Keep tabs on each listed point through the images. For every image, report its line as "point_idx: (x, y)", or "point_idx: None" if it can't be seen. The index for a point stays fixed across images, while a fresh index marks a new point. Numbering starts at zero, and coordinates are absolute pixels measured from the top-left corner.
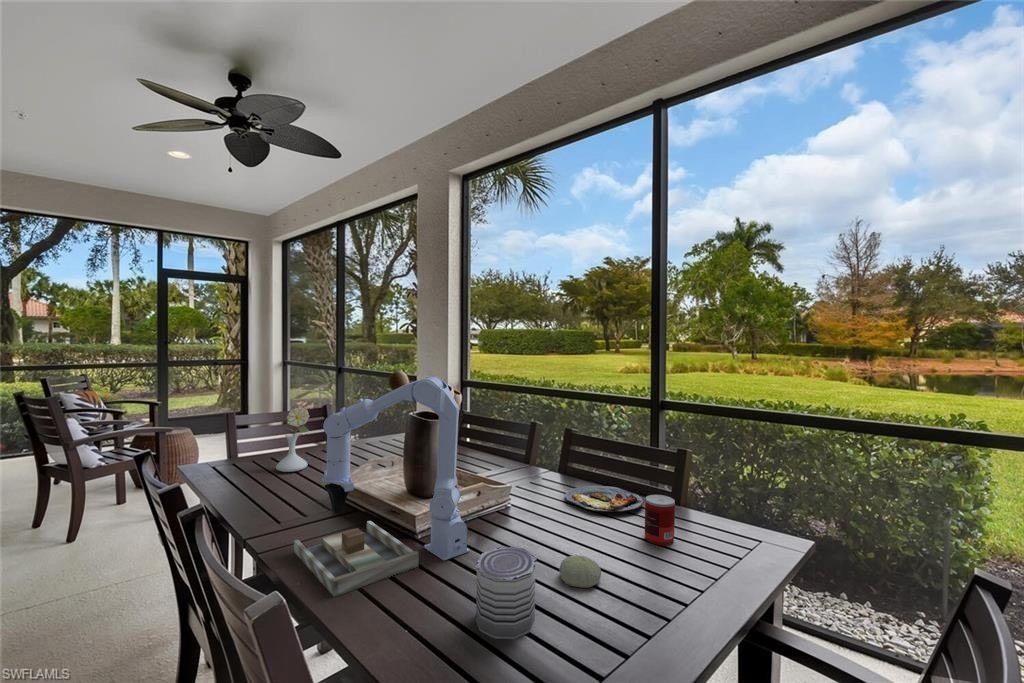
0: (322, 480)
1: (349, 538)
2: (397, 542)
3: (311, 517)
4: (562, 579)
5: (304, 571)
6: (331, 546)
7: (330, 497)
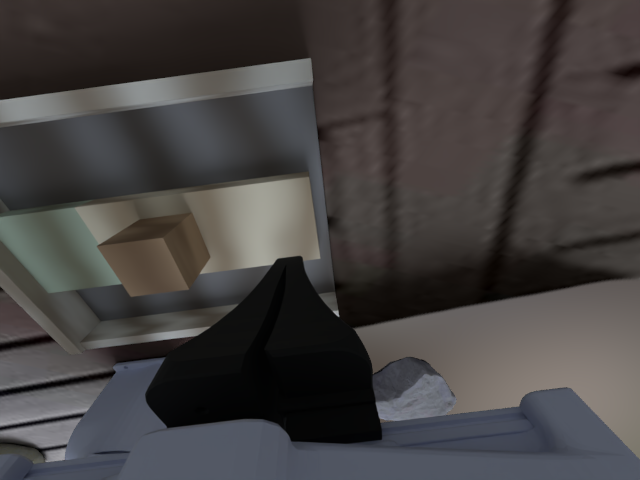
0: (197, 453)
1: (101, 248)
2: (160, 334)
3: (553, 191)
4: (3, 447)
5: (135, 71)
6: (222, 189)
7: (292, 297)
